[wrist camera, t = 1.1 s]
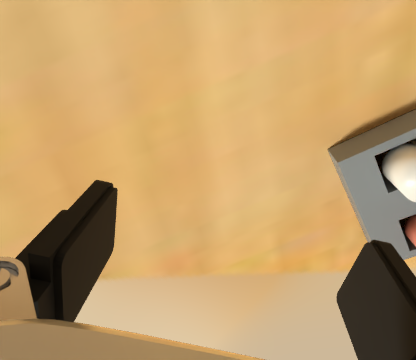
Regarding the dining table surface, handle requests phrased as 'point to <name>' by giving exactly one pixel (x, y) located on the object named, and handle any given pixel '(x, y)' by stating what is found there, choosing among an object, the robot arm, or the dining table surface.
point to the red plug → (411, 229)
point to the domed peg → (402, 169)
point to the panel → (377, 182)
